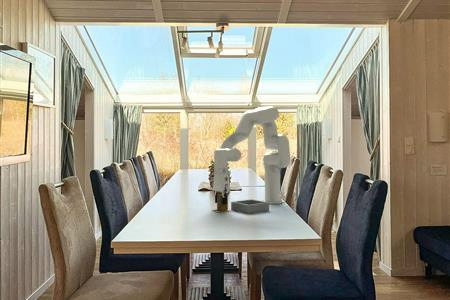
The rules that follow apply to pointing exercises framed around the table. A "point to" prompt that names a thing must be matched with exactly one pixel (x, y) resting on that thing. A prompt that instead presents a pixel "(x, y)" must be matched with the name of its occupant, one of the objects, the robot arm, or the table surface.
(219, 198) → the condiment
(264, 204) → the box
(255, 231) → the table surface
